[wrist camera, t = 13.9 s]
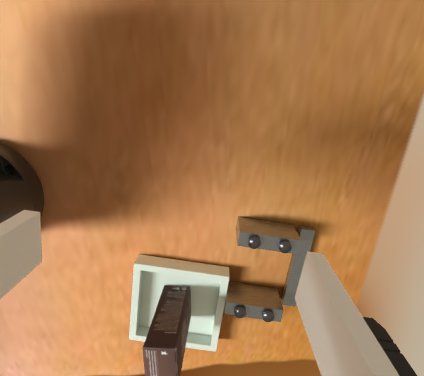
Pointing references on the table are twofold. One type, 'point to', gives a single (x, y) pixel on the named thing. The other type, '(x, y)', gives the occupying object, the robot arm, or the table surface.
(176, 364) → the box
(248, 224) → the hitch bracket
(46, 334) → the table surface
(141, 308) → the tray
